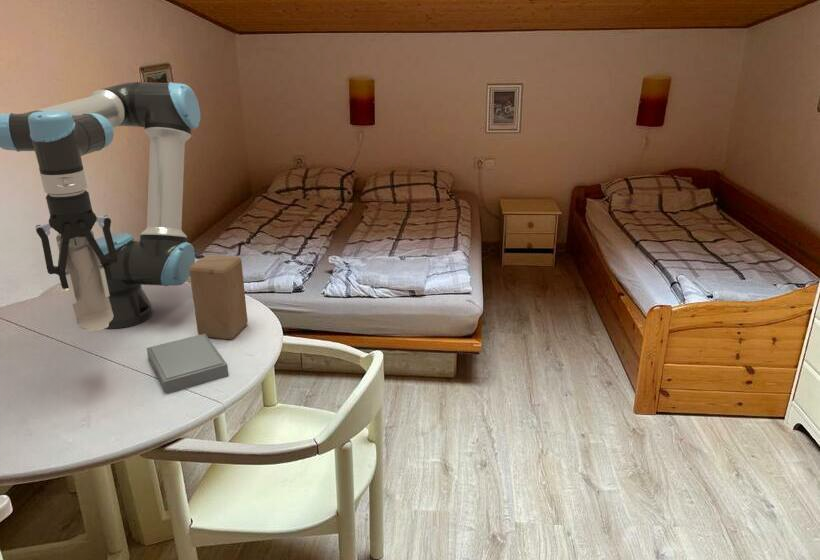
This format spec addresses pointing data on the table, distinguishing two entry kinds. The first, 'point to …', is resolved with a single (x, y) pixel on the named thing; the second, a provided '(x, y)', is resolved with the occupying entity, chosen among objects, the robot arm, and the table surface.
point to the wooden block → (218, 296)
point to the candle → (87, 285)
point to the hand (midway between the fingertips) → (90, 297)
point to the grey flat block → (186, 363)
